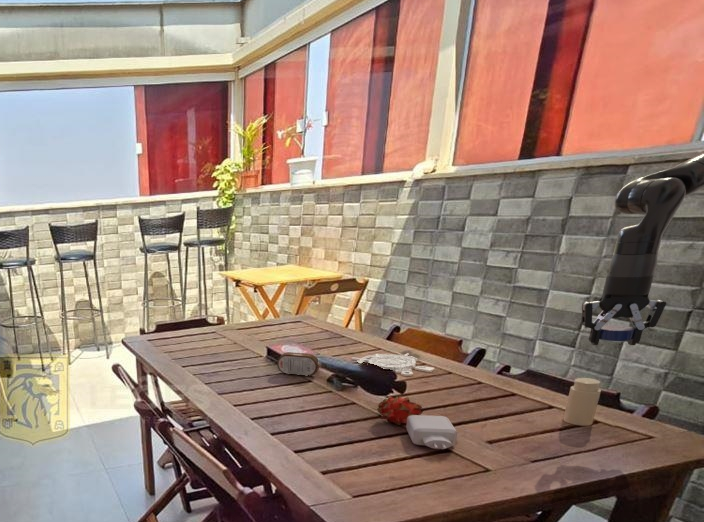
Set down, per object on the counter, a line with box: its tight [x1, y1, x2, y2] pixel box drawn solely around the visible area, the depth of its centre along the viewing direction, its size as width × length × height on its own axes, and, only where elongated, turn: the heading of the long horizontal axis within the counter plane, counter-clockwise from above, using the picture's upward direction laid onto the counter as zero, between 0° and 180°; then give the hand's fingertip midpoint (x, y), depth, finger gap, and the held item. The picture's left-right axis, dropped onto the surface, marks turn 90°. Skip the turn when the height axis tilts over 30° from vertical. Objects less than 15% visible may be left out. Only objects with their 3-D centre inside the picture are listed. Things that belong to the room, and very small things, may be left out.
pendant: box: [351, 352, 436, 377], centre depth 183 cm, size 21×28×1 cm
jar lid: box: [599, 325, 634, 342], centre depth 117 cm, size 6×6×2 cm
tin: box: [276, 351, 321, 377], centre depth 183 cm, size 15×3×8 cm, turn 52°
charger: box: [405, 414, 458, 450], centre depth 123 cm, size 5×9×15 cm
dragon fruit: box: [376, 395, 425, 426], centre depth 136 cm, size 8×8×12 cm
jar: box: [562, 377, 602, 427], centre depth 125 cm, size 6×6×11 cm
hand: (612, 344), depth 118 cm, fingers closed on jar lid, 6 cm apart
